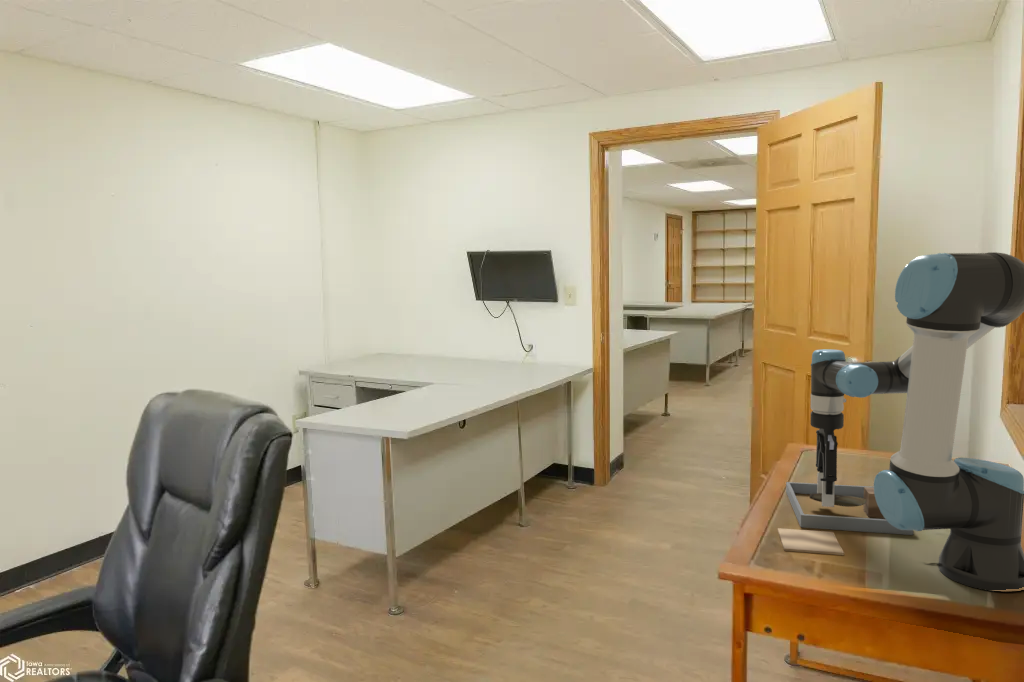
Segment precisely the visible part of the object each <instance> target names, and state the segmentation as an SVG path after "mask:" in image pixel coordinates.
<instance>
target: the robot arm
mask: <svg viewBox="0 0 1024 682" xmlns="http://www.w3.org/2000/svg"><path fill="white" fill-rule="evenodd" d="M894 290H895V291H894V299H895V300H894V301H895V302H896V303H897V304H896V307H897V309H898V311H899V313H900V314H901V315H902V316H904V317H906V321H905V323H906V325H907V327H908V329H910V330H911V331H912V332H913V340H912V341H913V343H912V345H911V346H910V347H909V348H908V349H907V350H905V352H903V353H902V354H901V355H900V356H899V357H897V358H896V359H895V360H892V361H867V362H865V361H863V362H861V361H859V362H858V361H857V362H849V361H847V360H846V354H845V352H844V351H843V350H840V349H830V348H829V349H815V350H814V351H813V352H812V354H811V363H810V373H811V374H810V376H811V377H810V378H811V379H810V383H811V384H810V391H811V392H810V409H811V412H810V422H809V423H810V426H811V427H813V428H815V429H817V430H816V431H815V432H816V453H815V456H816V457H815V459H816V460H815V467H816V470H817V473H816V474H817V475H816V476H817V480H816V481H817V482H816V484H817V493H822V502H821V507H827V508H828V507H829V508H835V505H834V488H835V485H836V483H835V482H837V481H838V477H837V474H838V471H837V469H838V467H837V466H838V463H837V462H838V445H839V443H838V440H837V438H838V437H837V435H835V430H841V429H843V428H844V419H845V417H844V415H845V414H844V413H843V411H844V409H845V405H844V403H847V399H846V398H845V396H849V397H852V398H859V399H860V398H861V399H862V398H863V399H864V398H867V397H869V396H871V395H883V394H885V395H886V394H906V400H905V401H906V402H905V409H904V418H903V424H902V425H903V426H902V434H901V441H900V450H898V451H896V452H895V453H893V454H892V455H891V456H890V459H889V469H883V470H882V471H881V470H880V471H879V472H878V473H877V474H876V475H875V477H874V480H873V487H874V495H875V499H876V502H877V505H878V507H879V509H880V511H881V513H882V515H883V516H884V518H883V519H886V520H887V521H888V522H889V523H890V524H891V525H892V526H894V527H895V528H897V529H900V530H913V531H916V532H922V531H929V530H948V529H950V532H949V535H948V537H947V539H946V541H945V544H944V545H943V547H942V550H941V551H940V554H939V557H938V570H939V571H940V573H941V574H942V575H943V576H945V577H947V578H948V579H950V580H952V581H954V582H956V583H959V584H961V585H964V586H967V587H971V588H973V589H977V588H979V589H978V590H982V589H986V590H985V591H987V590H1006V589H1019V588H1022V587H1024V550H1023V547H1022V531H1023V515H1024V514H1023V513H1024V475H1023V474H1022V472H1020V471H1019V470H1017V469H1016V468H1013V467H1011V466H1008V465H1007V464H1006V465H1005V464H1002V463H997V462H994V461H989V460H985V459H979V458H973V457H972V458H971V457H956V458H955V459H954V460H953V458H952V457H953V451H954V445H955V444H954V443H955V436H956V429H957V424H958V423H957V422H958V414H959V408H960V407H959V406H960V400H961V392H962V386H963V377H964V371H965V363H966V356H967V355H966V354H967V349H969V348H971V347H972V346H973V345H974V344H975V343H977V342H979V340H981V339H982V338H984V337H985V336H986V335H987V334H989V333H990V332H991V331H992V330H994V329H995V328H997V329H998V328H1004V327H1006V326H1008V325H1010V324H1012V323H1013V321H1015V320H1017V319H1018V318H1019V317H1020V316H1021V315H1022V314H1023V313H1024V261H1022V260H1021V259H1019V258H1018V257H1015V256H1013V255H1011V254H1008V253H1004V252H996V251H995V252H992V251H991V252H978V253H977V252H971V253H970V252H958V253H957V252H956V253H955V252H953V253H952V252H949V253H948V252H947V253H946V252H942V253H941V252H939V253H934V254H933V253H931V254H924V255H919V256H916V257H914V258H913V259H911V260H910V261H909V263H908V264H906V265H905V266H904V267H903V268H902V270H901V271H900V274H899V276H898V278H897V281H896V285H895V289H894Z"/></svg>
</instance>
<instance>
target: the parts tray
mask: <svg viewBox="0 0 1024 682" xmlns="http://www.w3.org/2000/svg"><path fill="white" fill-rule="evenodd" d="M864 487H870V488H874V486H870V485H869V486H868V485H867V486H866V485H849V484H848V485H847V484H835V488H834V494H836V495H843V496H853V497H859V498H863V499H864ZM785 493H786V496H787V497H788V500H789V502H790V505H791V507H792V510H793V512H794V515H795V517H796V520H797V523H798V525H799V527H800V528H805V529H806V528H807V529H819V530H821V529H822V530H834V531H835V530H836V531H852V532H861V533H863V532H865V533H876V534H877V533H878V534H881V533H882V534H894V535H904V536H905V535H908V536H914V530H900V529H897V528H895V527H894V526H892V525H891V524H890V523H889V522H888V521H887V520H886V519H885V518H873V517H854V516H838V515H825V514H807V513H806V514H805V513H804V512H803V509H802V507H801V505H800V502H799V501H798V500H799V499H798V497H797V496H796V494H804V495H810V494H813V493H817V483H813V482H811V483H810V482H797V481H796V482H794V481H786V483H785Z"/></svg>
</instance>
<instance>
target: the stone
mask: <svg viewBox="0 0 1024 682" xmlns="http://www.w3.org/2000/svg"><path fill="white" fill-rule="evenodd" d="M809 499H811V500H813V501H816V502H820V503H822V493H813V494H809ZM866 501H867V500H866V499H864V498H859V497H853V496H843V495H836V494H834V506H839V507H848V508H851V507H852V508H854V507H855V508H856V507H860V506H863V505H864V504H865V503H866Z"/></svg>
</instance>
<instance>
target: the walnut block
mask: <svg viewBox="0 0 1024 682" xmlns="http://www.w3.org/2000/svg"><path fill="white" fill-rule="evenodd" d="M863 499H866V500H867V501H866V503H865V504H864V505H862V506H863V507H862V510H863V512H864V513H865V515H866V516H867V518H875V519H885V518H884V516H883V515H882V513H881V511H880V509H879V507H878V505H877V502H876V499H875V495H874V488H870V487H864V498H863Z"/></svg>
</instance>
